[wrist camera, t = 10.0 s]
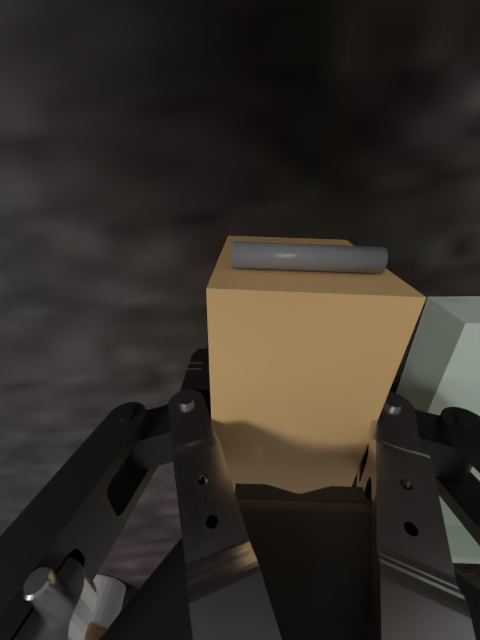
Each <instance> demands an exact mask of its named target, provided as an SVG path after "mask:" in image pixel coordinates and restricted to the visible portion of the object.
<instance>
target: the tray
mask: <svg viewBox="0 0 480 640" xmlns="http://www.w3.org/2000/svg"><path fill="white" fill-rule="evenodd" d="M396 394H399V395H401V396H403V397H404V398H406V399H407V400H408V401H409V402H410V403H411V404H412V405H413V407H414V409H416V410H420V411H423V412H428V413H432V414H436V415H440V414H441V412H442V410H443V409H444V408H447V407H459V408H463V409H466V410H469V411H471V412H473V413H475V414H477V415H479V416H480V296H456V297H428V298H427V301H426V304H425V307H424V310H423V313H422V316H421V319H420V322H419V325H418V328H417V331H416V334H415V337H414V340H413V343H412V346H411V349H410V352H409V355H408V358H407V361H406V364H405V367H404V370H403V373H402V376H401V379H400V382H399V385H398V388H397V391H396ZM470 472H471V473H472V474H473V475H474V476H475V477H476V478H477V479H478V480H479V481H480V473H479V472H478V471H477V470H476V469H475V468H474V467H473V468H472V469H471V471H470ZM439 498H440V503H441V508H442V513H443V518H444V523H445V528H446V533H447V538H448V543H449V548H450V553H451V558H452V563H469V564H480V546H479V545H478V544H477V542H476V541H475V540H474V539H473V537H472V536H471V535H470V533H469V532H468V531H467V530H466V528H465V527H464V526H463V525H462V523H461V522H460V521H459V520H458V518H457V517H456V516H455V515H454V513H453V512H452V511H451V510H450V508H449V507H448V506H447V505H446V503H445V502H444V501H443V500H442V498H441V497H440V496H439Z"/></svg>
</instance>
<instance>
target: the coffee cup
mask: <svg viewBox="0 0 480 640" xmlns="http://www.w3.org/2000/svg"><path fill="white" fill-rule="evenodd" d="M93 582H94V584H95V586H96V590H97V601H96V606H95V610H94V613H93V615H92V618H91V620H90V623H89V625H88V628H87V631H86V634H85V639H84V640H98V639H99V638H100V637H101V635H102V634H103V633H104V632H105V631H106V629H107V628H108V627H109V626H110V624H111V623H112V622H113V621H114V620H115V618H116V617H117V616H118V615H119V613H120V612H121V608H122V604H123V600H124V596H125V592H126V586H125V584H124V583H122V582H121V581H119V580H118V579H115V578H113V577H110V576H106V575H101V574H97V575H96V576H95V578H94V580H93Z"/></svg>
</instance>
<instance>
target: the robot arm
mask: <svg viewBox="0 0 480 640" xmlns="http://www.w3.org/2000/svg"><path fill="white" fill-rule="evenodd" d="M169 462H173V464H174V472H175V481H176V489H177V497H178V506H179V514H180V523H181V531H182V538H181V539H180V540H179V541H178V542H177V544H176V545H175V546H174V547H173V549H172V550H171V551H170V552H169V553H168V555H167V556H166V557H165V558H164V560H163V561H162V562H161V563H160V564H159V566H158V567H157V568H156V569H155V571H154V572H153V573H152V574H151V575H150V577H149V578H148V579H147V580H146V582H145V583H144V584H143V585H142V587H141V588H140V589H139V590H138V591H137V593H136V594H135V595H134V596H133V598H132V599H131V600H130V601H129V602H128V604H127V605H126V606H125V607H124V609H123V610H122V611H121V612H120V613H119V615H118V616H117V617H116V618H115V620H114V621H113V622H112V623H111V624H110V626H109V627H108V628H107V629H106V631H105V632H104V633H103V634H102V635H101V637H100V638H99V639H98V640H480V590H479V589H478V588H477V587H476V586H475V585H474V584H473V583H472V582H471V581H469V580H468V579H467V578H466V577H465V576H464V575H463V574H462V573H461V572H460V571H459V570H458V569H457V568H456V567H454V566H453V563H452V558H451V553H450V548H449V543H448V538H447V533H446V528H445V523H444V518H443V513H442V508H441V503H440V498H439V496H440V497H441V498H442V500H443V501H444V502H445V503H446V505H447V506H448V507H449V508H450V510H451V511H452V512H453V513H454V515H455V516H456V517H457V518H458V520H459V521H460V522H461V523H462V525H463V526H464V527H465V528H466V530H467V531H468V532H469V533H470V535H471V536H472V537H473V539H474V540H475V541H476V542H477V544H478V545H479V546H480V481H479V480H478V479H477V478H476V477H475V476H474V475H473V474H472V473H471V472H470V471H471V469H472V468H473V467H474V468H475V469H476V470H477V471H478V472H479V473H480V416H479V415H477V414H475V413H473V412H471V411H469V410H466V409H463V408H459V407H447V408H444V409H443V410H442V412H441V414H440V415H436V414H432V413H428V412H423V411H420V410H416V409H414V407H413V405H412V404H411V403H410V402H409V401H408V400H407V399H406V398H404V397H403V396H401V395H399V394H396V393H393V392H392V390H391V389H390V391H389V393H388V396H387V398H386V401H385V403H384V406H383V408H382V411H381V413H380V416H379V418H378V420H372V422H371V425H370V429H369V444H368V446H367V449H366V451H365V454H364V456H363V459H362V461H360V463H359V466H358V470H357V487H346V486H329V487H325V488H321V489H318V490H314V491H310V492H306V493H302V494H298V493H294V492H290V491H287V490H284V489H280V488H277V487H274V486H270V485H267V484H240V483H235V491H234V488H233V484H232V481H231V478H230V474H229V471H228V468H227V464H226V461H225V458H224V455H223V451H222V448H221V445H220V441H219V439H218V436H215V432H214V429H213V426H212V422H211V399H210V373H209V346H208V345H207V349H198V350H197V351H196V352H195V353H194V354H193V355H192V357H191V360H190V364H189V366H188V370H187V372H186V375H185V378H184V381H183V384H182V387H181V390H180V392H178V393H176V394H175V395H174V396H172V398H171V399H170V400H169V403H168V404H167V405H165V406H162V407H158V408H154V409H150V410H146V409H145V407H144V406H143V405H142V404H140V403H137V402H129V403H125V404H122V405H120V406H118V407H117V408H115V409H114V410H112V411H111V412H110V414H109V415H108V416H107V417H106V418H105V419H104V420H103V421H102V423H101V424H100V425H99V426H98V427H97V428H96V429H95V430H94V432H93V433H92V434H91V435H90V436H89V437H88V438H87V439H86V441H85V442H84V443H83V444H82V445H81V446H80V447H79V448H78V450H77V451H76V452H75V453H74V454H73V455H72V456H71V457H70V459H69V460H68V461H67V462H66V463H65V464H64V465H63V466H62V468H61V469H60V470H59V471H58V472H57V473H56V474H55V475H54V477H53V478H52V479H51V480H50V481H49V482H48V483H47V484H46V486H45V487H44V488H43V489H42V490H41V491H40V492H39V493H38V495H37V496H36V497H35V498H34V499H33V500H32V501H31V502H30V504H29V505H28V506H27V507H26V508H25V509H24V510H23V511H22V513H21V514H20V515H19V516H18V517H17V518H16V519H15V520H14V522H13V523H12V524H11V525H10V526H9V527H8V528H7V529H6V531H5V532H4V533H3V534H2V535H1V536H0V640H84V639H85V634H86V631H87V628H88V625H89V623H90V620H91V618H92V615H93V613H94V610H95V606H96V601H97V590H96V586H95V584H94V582H93V580H94V578H95V576H96V575H97V573H98V571H99V569H100V567H101V566H102V564H103V562H104V560H105V559H106V557H107V555H108V553H109V552H110V550H111V548H112V546H113V544H114V543H115V541H116V539H117V537H118V536H119V534H120V532H121V530H122V529H123V527H124V525H125V523H126V521H127V520H128V518H129V516H130V514H131V513H132V511H133V509H134V507H135V506H136V504H137V502H138V500H139V498H140V497H141V495H142V493H143V491H144V490H145V488H146V486H147V484H148V483H149V481H150V479H151V477H152V475H153V474H154V472H155V470H156V468H157V466H159V465H163V464H166V463H169Z"/></svg>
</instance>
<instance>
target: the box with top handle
mask: <svg viewBox="0 0 480 640" xmlns="http://www.w3.org/2000/svg"><path fill="white" fill-rule="evenodd" d="M387 261H388V251H387V249H386V248H385V247H374V246H354V245H352V244H351V243H350V242H348V241H347V240H335V239H307V238H280V237H252V236H228V237H227V240H226V242H225V245H224V247H223V249H222V252H221V254H220V257H219V259H218V261H217V264H216V266H215V269H214V271H213V273H212V276H211V278H210V281H209V283H208V285H207V288H206V293H207V320H208V346H209V373H210V399H211V422H212V426H213V429H214V432H215V436H218V439H219V441H220V445H221V448H222V451H223V455H224V458H225V461H226V464H227V468H228V471H229V474H230V478H231V481H232V484H233V488H234V491H235V483H240V484H267V485H270V486H274V487H277V488H280V489H284V490H287V491H290V492H294V493H298V494H302V493H306V492H310V491H314V490H318V489H321V488H325V487H329V486H346V487H352V484H353V482H354V479H355V477H356V474H357V470H358V466H359V463H360V461H362V459H363V456H364V454H365V451H366V449H367V446H368V444H369V429H370V425H371V422H372V420H378V418H379V416H380V413H381V411H382V408H383V406H384V403H385V401H386V398H387V396H388V393H389V391H390V388H391V385H392V383H393V380H394V378H395V375H396V373H397V370H398V368H399V365H400V363H401V360H402V358H403V355H404V353H405V350H406V348H407V345H408V343H409V340H410V337H411V335H412V332H413V330H414V327H415V325H416V322H417V320H418V317H419V315H420V312H421V310H422V307H423V305H424V302H425V300H426V297H425V296H424V295H422V294H421V293H419V292H418V291H417V290H415V289H414V288H412V287H411V286H410V285H408V284H407V283H405V282H404V281H403V280H401V279H400V278H399V277H397V276H396V275H394V274H393V273H392V272H390V271H389V270H387V269H386V265H387Z"/></svg>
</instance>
